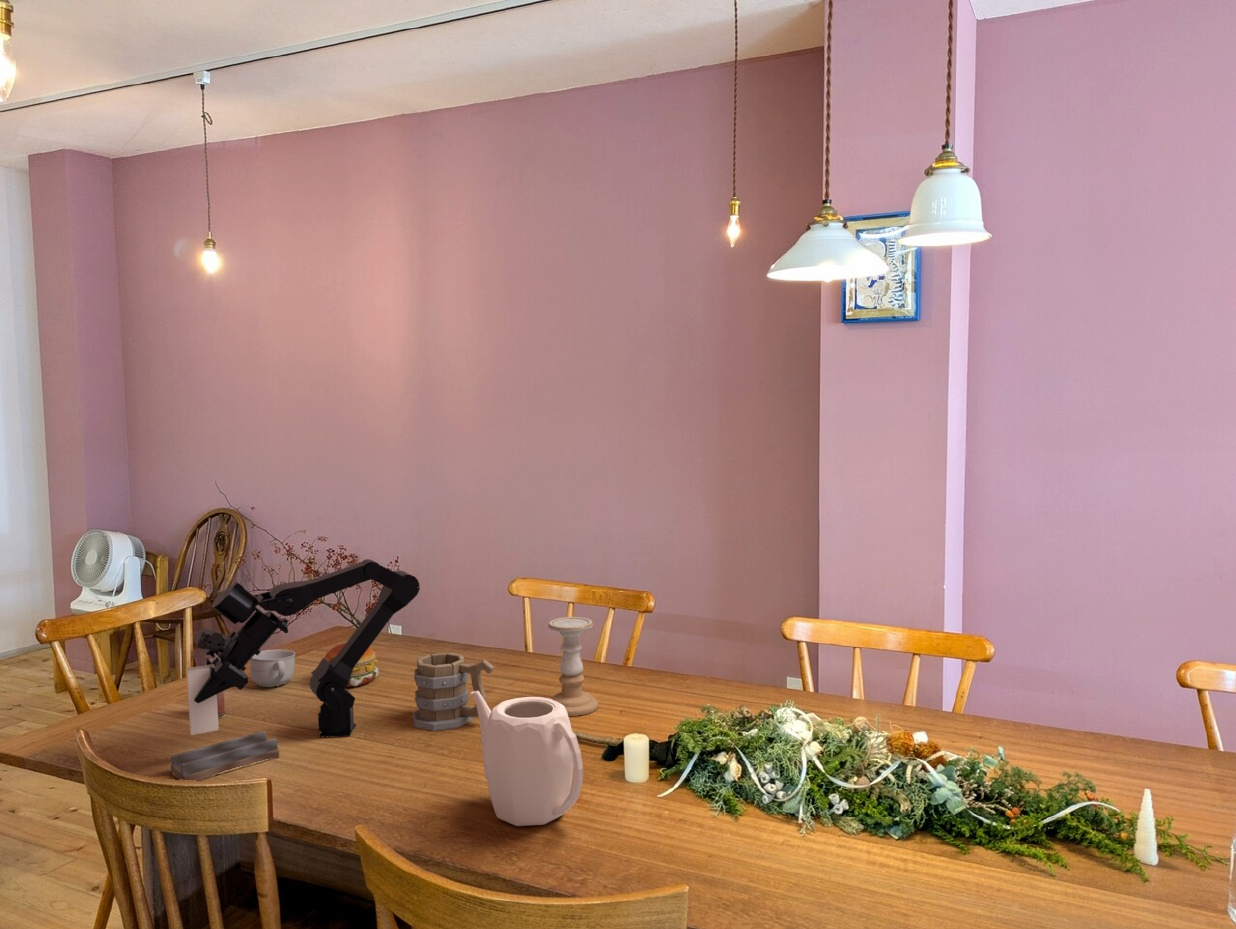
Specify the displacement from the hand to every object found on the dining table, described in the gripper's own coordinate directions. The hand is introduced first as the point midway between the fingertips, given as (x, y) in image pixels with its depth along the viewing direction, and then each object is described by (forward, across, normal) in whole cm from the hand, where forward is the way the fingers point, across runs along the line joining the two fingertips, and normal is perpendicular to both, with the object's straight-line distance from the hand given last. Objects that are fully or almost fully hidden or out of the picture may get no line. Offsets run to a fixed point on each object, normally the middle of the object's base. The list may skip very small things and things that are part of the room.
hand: (195, 699), depth 177 cm
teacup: (-7, -41, +25) cm, 49 cm away
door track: (+6, +5, +12) cm, 14 cm away
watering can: (-23, +56, +41) cm, 73 cm away
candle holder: (-46, +15, +64) cm, 80 cm away
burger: (-19, -33, +37) cm, 53 cm away
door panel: (+4, 0, +6) cm, 7 cm away
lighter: (+5, -27, +13) cm, 31 cm away
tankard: (-27, +9, +45) cm, 53 cm away
